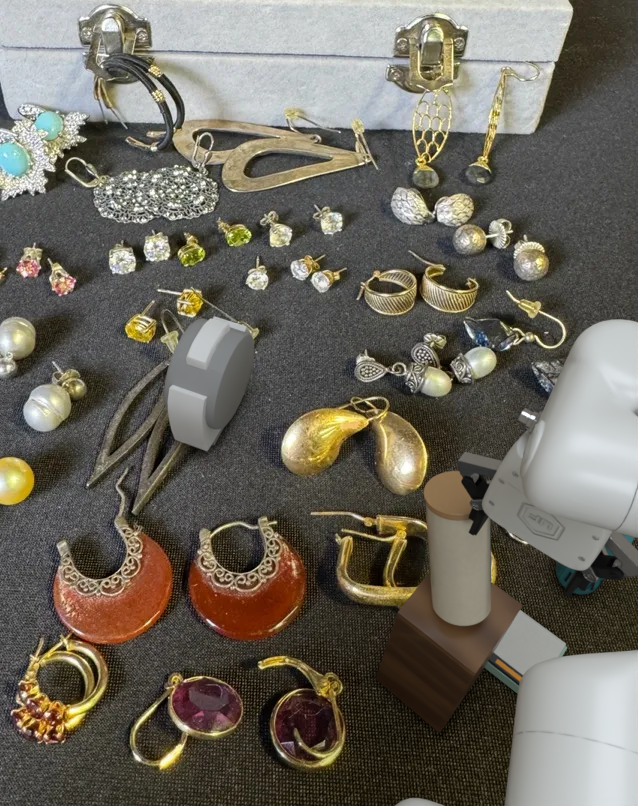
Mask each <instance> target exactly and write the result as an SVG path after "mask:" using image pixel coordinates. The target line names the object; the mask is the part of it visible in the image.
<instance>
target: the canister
mask: <svg viewBox="0 0 638 806" xmlns="http://www.w3.org/2000/svg"><path fill="white" fill-rule="evenodd" d="M462 479H463V478H462V475H460V472H459V470H449V471H444V472H441V473H438V474H436V475H434V476H432V477H431V478H430V479H429V480H428V481H427V482H426V483H425V484H424V485H425V486H424V488H423V500H424V505H425V516H426V517H425V519H426V532H427V533H426V534H427V535H426V536H427V548H428V549H427V550H428V562H429V563H428V564H429V572H430V580H431V595H432V605H433V608H434V610H435V612H436V613H437V615H438V616H439V617H440V618H442V619H443V620H444V621H446V622H448V623H451V624H454V625H458V626H470V625H474V624H477V623H479V622H481V621H483V620H484V619H485V618H486V617H487V616H488V615H489V613H490V611H491V607H492V592H491V582H492V535H491V533H492V532H491V531H492V530H491V518H490V517H488V519H487V520H486V522H485V523H484V525H483V526H482V528H481V529H480V531H479V532H478V534H477V535H476V536H475V535H474V536H473V535H471V534H470V533H469V530H470V528H471V526H472V523H473V521H472V520H471V519H469V518H468V517H469V514H470V512H471V509H472V507H471V506H470V501H471V497H470V496H469V494H468V492H467V491H466V489H465V488H464V486H463V485H462V483H461V480H462Z"/></svg>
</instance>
